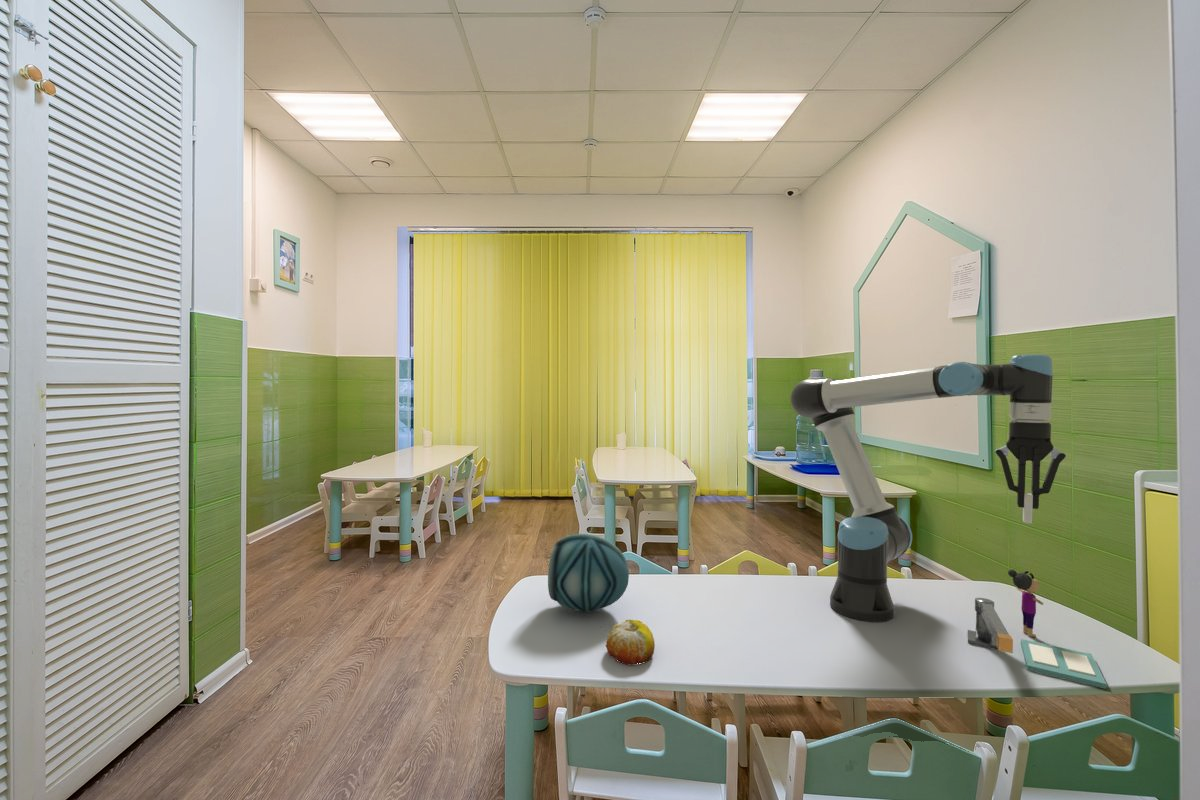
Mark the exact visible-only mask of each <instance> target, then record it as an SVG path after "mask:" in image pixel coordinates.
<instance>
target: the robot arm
mask: <svg viewBox="0 0 1200 800" xmlns="http://www.w3.org/2000/svg"><path fill="white" fill-rule="evenodd" d="M1052 360H1053V359H1052V357H1050V356H1049V355H1047V354H1018V355H1013V356H1012V357H1010V361H1009V363H1003V364H1002V363H1001V364H978V363H970V362H966V361H959V362H958V361H957V362H952V363H950V364H945V365H940V366H931V367H925V368H918V369H917V368H916V369H911V370H903V371H896V372H891V373H890V372H889V373H883V374H875V375H869V376H861V377H855V378H848V379H842V380H836V379H834V378H833V379H832V378H822V379H820V378H819V379H817V378H816V379H815V378H807V379H803V380H801V381H800V382H797V384H796V385H795V386H794V387H793V388H792V391H791V394H790V404H791V407H792V409H793V411H794V412H796V414H797V415H799V416H800V417H802V418H805V419H811V421H812V423H813V426H814V427H815V429H816V430H818V431H820V432H822V433H823V436H824V439H825V441H826V444H827V446H828V448H829V451H830V453H831V456H832V458H833V461H834V463H835V465H836V468H837V470H838V473H839V475H840V479H842V483H843V485H844V488H845V490H846V493H847V495H848V498H849V500H850V503H851V506H852V507H853V512H852V514H851V517H847V518H845V519H843V520H841V521H840V523H839V525H838V532H837V577H836V579H835V582H834V586H833V587H832V590H831V593H830V595H829V598H830V599H829V606H830V607H831V608H832V609H833V611H835V612H837V613H839V614H841V615H842V616H845V617H848V618H851V619H854V620H859V621H865V622H866V621H867V622H886V621H890V620H892V619H893V618H894V617H895V604H894V602H893V598H892V596H891V593H890V591H889V590H890V589H889V587H888V584H887V583H888V563H889V562H891V561H893V560H895V559H898V558H900V557H901V556H903V555H905V553H907V551H908V550H909V549H910V547H912V542H913V532H912V529H911V527H910V526H909V523H908V522H907V521H906V520H905V519H904V518H902V517H900V516H899V515H898V512H897V510H896V508H895V506H894V505H893V504H892V503H889V502H887V501H886V499H885V497H884V494H883V492H882V489H881V487H880V484H879V483H878V480H877V478H876V475H875V472H874V471H873V468H872V466H871V463H870V461H869V459H868V456H867V454H866V451H865V450H864V448H863V445H862V442H861V440H860V438H859V436H858V433H857V431H856V428H855V426H854V422H853V421H854V419H855V417H856V413H855V411H854V410H853V408H856V407H858V408H859V407H866V406H874V405H875V406H876V405H884V404H892V403H894V404H895V403H904V402H914V401H921V400H923V401H924V400H930V399H941V398H942V399H943V398H954V397H963V396H968V397H969V396H1009V419H1010V420H1012V421H1010V422H1009V430H1008V440H1007V441H1006V443H1005V445H1004V446H1002V447H1000V448H996V449H995V451H994V452H995V454H996V455H997V457H998V458H999V459H1000V462H1001V466H1002V470H1003V473H1004V477H1005V482H1006V484H1007V488H1008V489H1009V491H1012V492H1015V493H1017V496H1016V499H1017V500H1016V503H1017V507H1018V508H1022V521H1023V523H1024V524H1025V523H1026V524H1033V509H1034V510H1038V509H1039V507H1040V506H1039V505H1040V495H1045V494H1050V491H1051V488H1052V486H1053V483H1054V480H1055V478H1056V475H1057V472H1058V470H1059V469H1058V468H1059V466H1060V463H1062V462H1063V460H1065V458H1066V456H1067V455H1066V453H1064V452H1061V451H1059V450H1057V449H1055V448H1054V444H1053V443H1052V440H1051V439H1052V437H1051V436H1052V424H1051V423H1050V422H1049V421H1051V420H1052V397H1053V394H1052V393H1053V376H1054V373H1053V361H1052ZM1009 451H1010V453H1012V455H1013V456H1014V457H1015V458H1016V459H1017V485H1015V483H1014V479H1013V475H1012V472H1011V469H1010V465H1009V462H1008V458H1007V456H1009ZM1049 454H1050V459H1051V460H1050V463H1049V466H1048V469H1047V472H1046V474H1045V478H1044V481H1043V483H1042V487H1040V485H1041V484H1040V483H1041V482H1040V481H1041V480H1040V478H1041V476H1040V475H1041V462H1042V461H1043V460H1044V459H1045V458H1046V457H1047V456H1048V455H1049ZM1027 461H1028V462H1029V461H1030V462H1031V493H1030V492H1029V493H1027V492H1026V465H1027Z"/></svg>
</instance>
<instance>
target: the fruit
mask: <svg viewBox="0 0 1200 800" xmlns="http://www.w3.org/2000/svg"><path fill="white" fill-rule="evenodd" d="M605 643H606V644H605V647H606V650H607V653H608V654H609V656H610V657H611V656H612V657H614V659H615V660H616V659H617V660H618V661H620V662H619V663H622V662H623V664H624V663H625V665H628V664H637V663H638V664H639V663H642V664H644V663H643V662H645V663H647V662H649V661H650V660H651V659H652V657H653V655H654V652H655V649H656V648H655V647H656V646H655V645H656V644H655V639H654V635H653V632H652V631H651V629H650V628H649V626H648V625H646V624H645V623H643V621H641V620H638V619H626V620H625V621H623V622H620V623H616V624H614V625H613V626H612V627H611V629H610V631H609V633H608V636H607V638H606V642H605ZM612 657H611V658H612ZM617 660H616V661H617ZM618 661H617V662H618ZM646 661H647V662H646Z"/></svg>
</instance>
